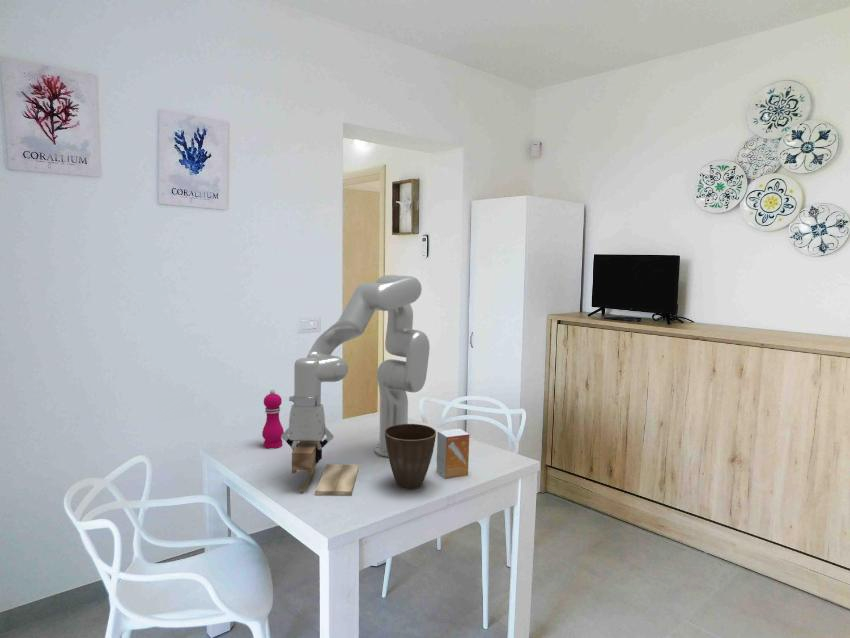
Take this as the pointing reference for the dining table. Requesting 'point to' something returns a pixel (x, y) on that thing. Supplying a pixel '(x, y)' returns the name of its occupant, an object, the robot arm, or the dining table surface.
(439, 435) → the small box
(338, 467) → the board
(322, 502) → the dining table surface
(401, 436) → the plant pot
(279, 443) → the pepper mill
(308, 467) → the brown wooden block
